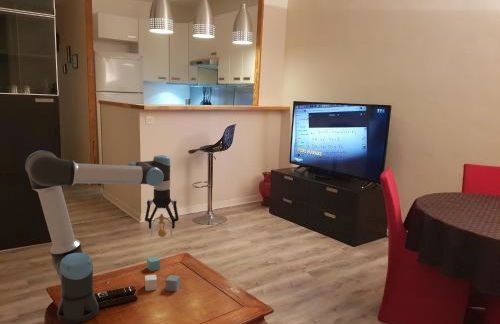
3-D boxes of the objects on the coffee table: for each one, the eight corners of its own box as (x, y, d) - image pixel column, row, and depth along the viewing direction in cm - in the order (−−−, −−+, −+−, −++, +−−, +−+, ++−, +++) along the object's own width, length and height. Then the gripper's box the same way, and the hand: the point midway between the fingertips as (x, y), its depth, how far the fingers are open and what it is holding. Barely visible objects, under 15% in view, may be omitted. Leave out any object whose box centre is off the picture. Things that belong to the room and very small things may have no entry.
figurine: (171, 235, 193) (171, 211, 191) (169, 239, 187) (169, 215, 185) (154, 234, 192) (154, 211, 190) (151, 239, 186) (151, 215, 184)
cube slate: (165, 290, 180) (165, 280, 179) (169, 285, 185) (169, 275, 184) (176, 291, 179) (176, 281, 178) (179, 286, 184) (179, 276, 183)
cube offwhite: (145, 291, 179) (145, 280, 178) (145, 285, 183) (144, 275, 182) (156, 289, 180) (156, 279, 179) (156, 284, 185) (156, 274, 184)
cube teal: (150, 271, 198) (150, 262, 197) (147, 267, 202) (147, 258, 201) (160, 269, 200) (160, 260, 200) (156, 265, 205) (156, 256, 204)
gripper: (137, 190, 180) (138, 237, 184) (184, 190, 183) (183, 237, 187) (140, 186, 188) (140, 232, 192) (185, 186, 190) (184, 231, 194)
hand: (161, 234), depth 189 cm, fingers closed on figurine, 8 cm apart
